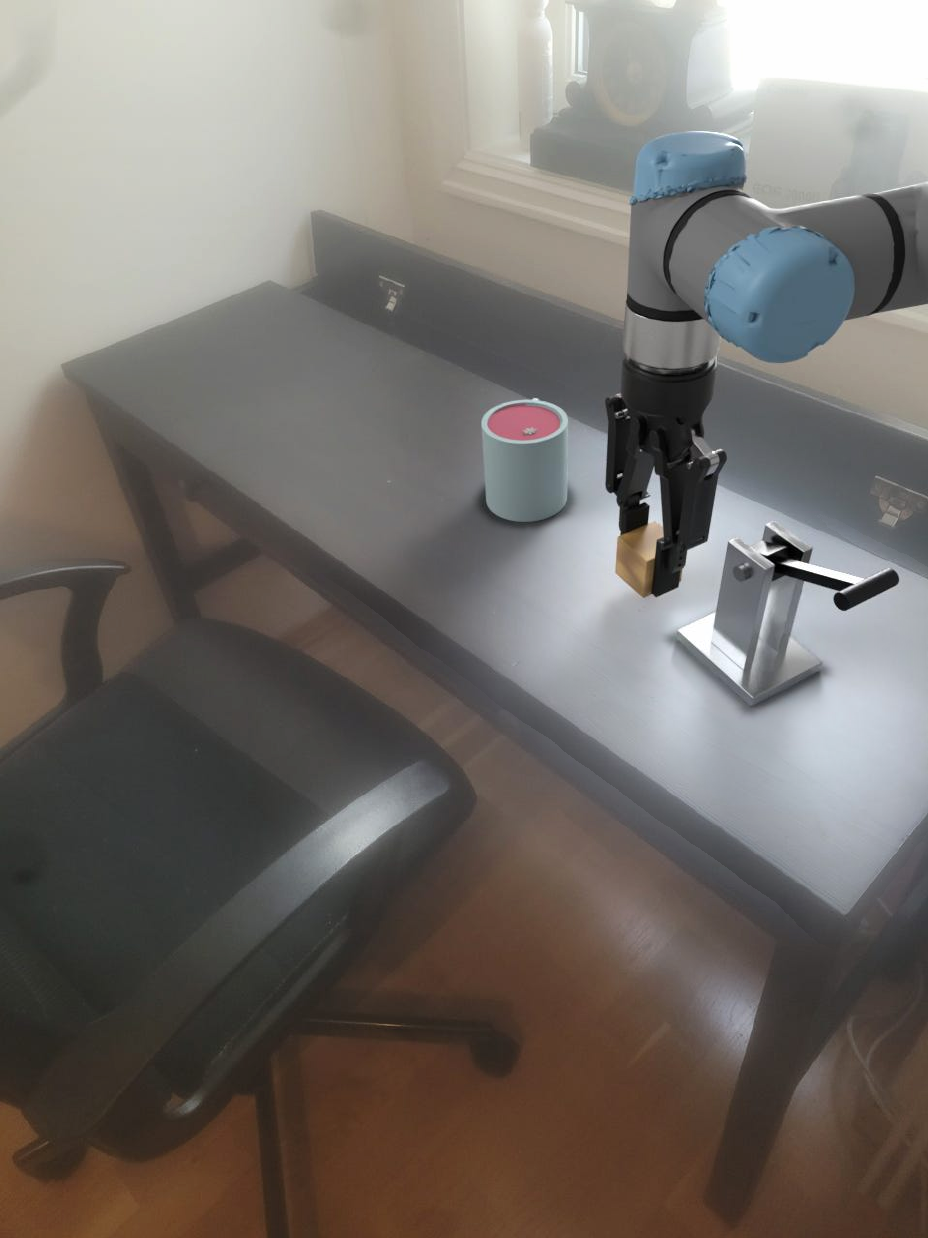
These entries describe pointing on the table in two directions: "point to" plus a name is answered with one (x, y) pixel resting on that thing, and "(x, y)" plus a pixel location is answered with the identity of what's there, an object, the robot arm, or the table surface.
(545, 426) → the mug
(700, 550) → the table surface
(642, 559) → the block
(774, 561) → the lever
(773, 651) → the bracket
